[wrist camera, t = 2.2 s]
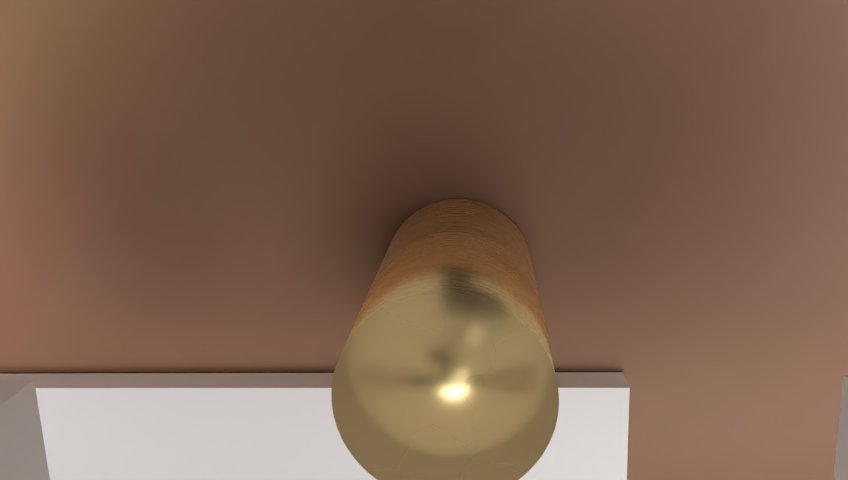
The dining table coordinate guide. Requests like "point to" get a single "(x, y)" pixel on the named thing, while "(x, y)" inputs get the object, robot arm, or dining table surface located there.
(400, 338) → the pin
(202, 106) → the dining table surface
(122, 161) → the dining table surface
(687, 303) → the dining table surface
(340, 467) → the white grey flat tray
